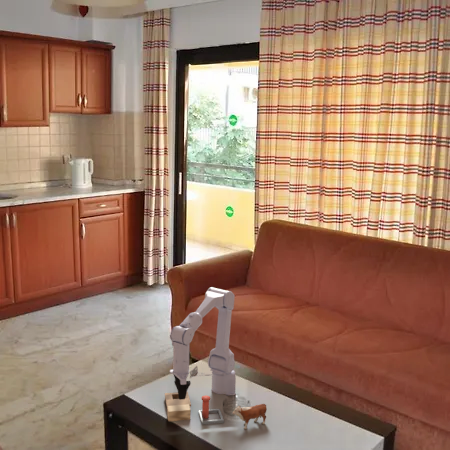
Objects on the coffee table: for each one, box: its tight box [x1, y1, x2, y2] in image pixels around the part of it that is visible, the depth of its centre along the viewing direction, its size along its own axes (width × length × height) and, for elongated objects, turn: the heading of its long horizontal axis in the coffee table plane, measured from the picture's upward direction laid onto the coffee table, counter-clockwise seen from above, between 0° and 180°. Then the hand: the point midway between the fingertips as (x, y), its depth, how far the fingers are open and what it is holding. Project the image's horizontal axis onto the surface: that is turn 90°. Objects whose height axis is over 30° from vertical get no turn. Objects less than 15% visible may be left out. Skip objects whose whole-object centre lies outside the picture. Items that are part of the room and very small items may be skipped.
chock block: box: [166, 404, 192, 422], centre depth 203 cm, size 8×4×5 cm, turn 101°
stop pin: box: [201, 394, 211, 420], centre depth 204 cm, size 3×3×8 cm
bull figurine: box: [232, 403, 267, 431], centre depth 201 cm, size 4×13×8 cm, turn 113°
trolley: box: [164, 391, 192, 407], centre depth 213 cm, size 9×14×3 cm, turn 11°
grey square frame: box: [198, 408, 225, 425], centre depth 204 cm, size 8×8×2 cm
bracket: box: [189, 365, 212, 378], centre depth 237 cm, size 7×10×4 cm, turn 67°
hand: (180, 393), depth 202 cm, fingers open, 7 cm apart
